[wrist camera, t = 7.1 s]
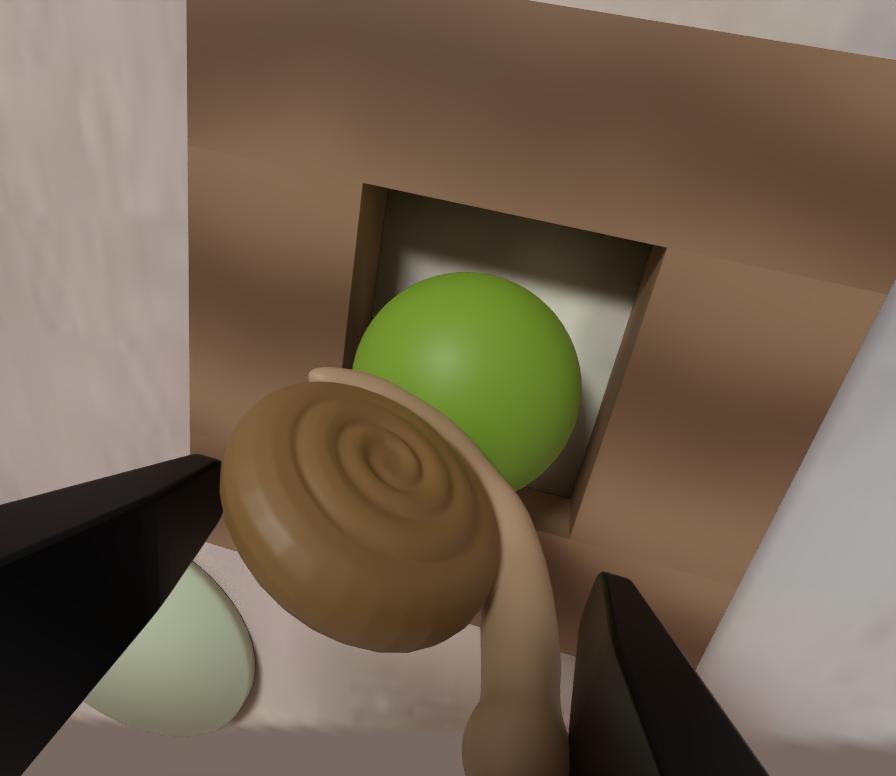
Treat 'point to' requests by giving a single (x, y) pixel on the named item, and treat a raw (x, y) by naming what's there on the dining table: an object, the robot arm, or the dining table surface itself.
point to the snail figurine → (423, 498)
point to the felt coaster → (182, 665)
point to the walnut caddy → (565, 203)
